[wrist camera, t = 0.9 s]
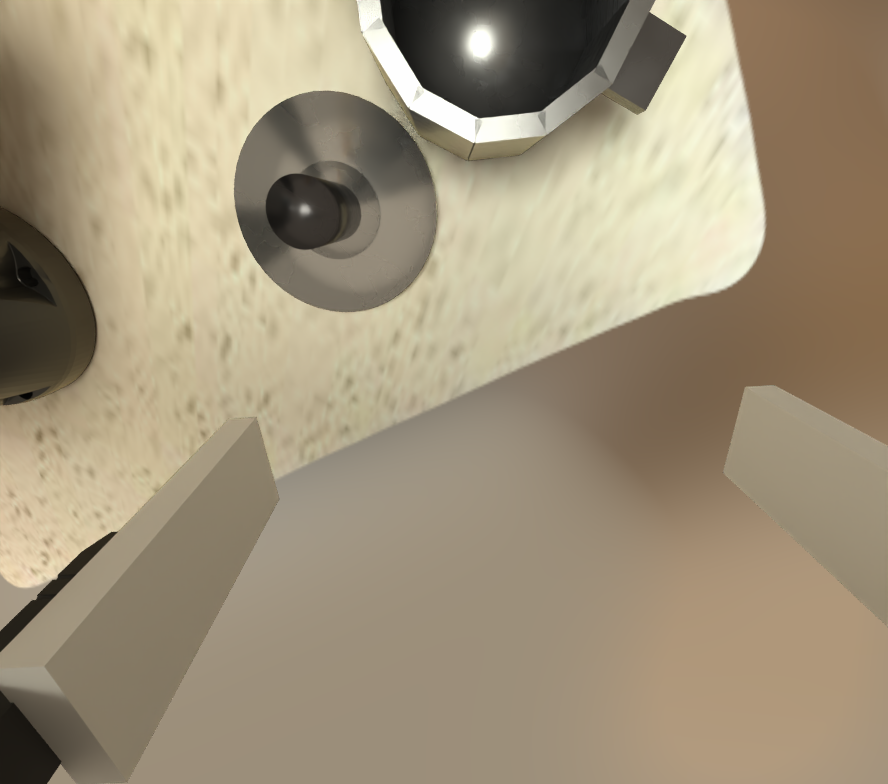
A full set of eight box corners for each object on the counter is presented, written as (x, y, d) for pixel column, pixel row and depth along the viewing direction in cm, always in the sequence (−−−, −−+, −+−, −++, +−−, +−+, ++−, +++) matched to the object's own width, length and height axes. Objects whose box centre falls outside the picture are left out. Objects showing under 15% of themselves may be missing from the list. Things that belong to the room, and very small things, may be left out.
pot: (315, 81, 26) (262, 30, 19) (392, -203, 21) (362, -424, 14) (559, 209, 29) (597, 209, 21) (676, -16, 24) (777, -115, 17)
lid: (223, 261, 31) (145, 279, 23) (271, 52, 26) (192, -18, 18) (394, 336, 33) (377, 376, 25) (469, 157, 28) (478, 136, 20)
